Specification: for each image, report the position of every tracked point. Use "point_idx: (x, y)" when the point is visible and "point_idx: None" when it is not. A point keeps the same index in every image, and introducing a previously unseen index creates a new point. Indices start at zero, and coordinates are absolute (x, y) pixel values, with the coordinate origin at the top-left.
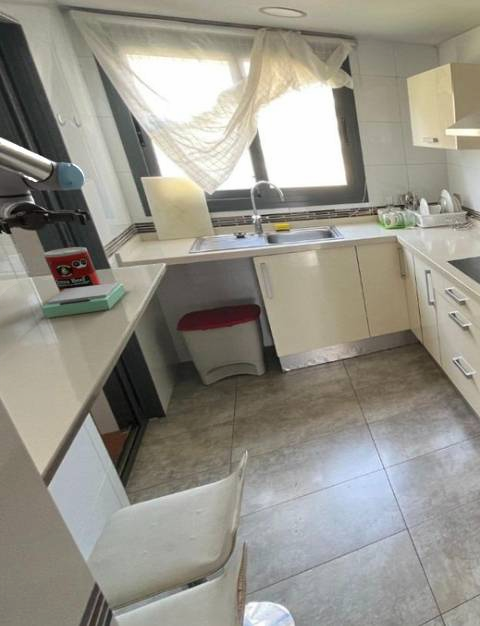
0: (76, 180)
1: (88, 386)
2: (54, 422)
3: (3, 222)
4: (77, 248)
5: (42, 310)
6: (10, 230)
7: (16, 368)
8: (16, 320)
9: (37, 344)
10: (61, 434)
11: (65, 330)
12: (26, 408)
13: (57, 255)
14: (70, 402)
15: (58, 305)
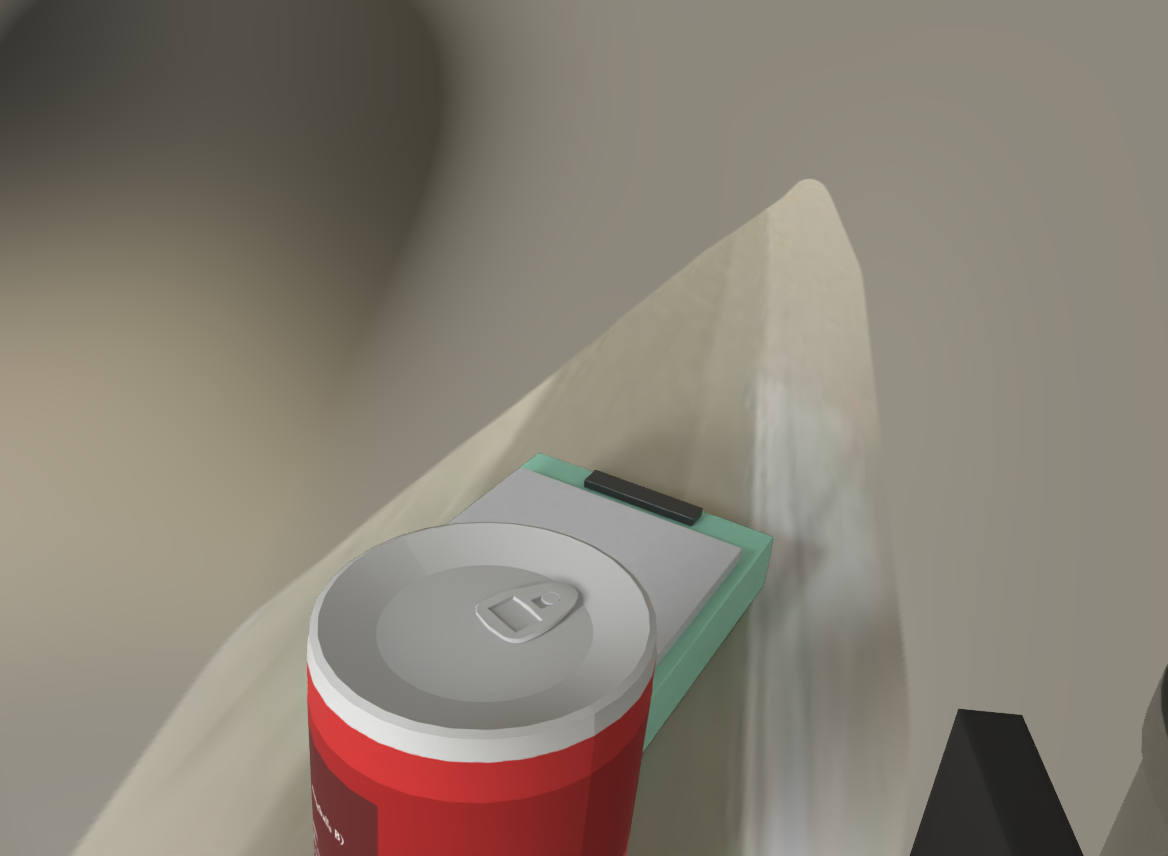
0: None
1: (746, 227)
2: (803, 199)
3: (1037, 827)
4: (356, 658)
5: (771, 547)
6: (923, 821)
7: (855, 329)
8: (877, 654)
9: (809, 399)
10: (798, 183)
11: (726, 432)
12: (835, 232)
13: (585, 551)
14: (778, 214)
15: (708, 517)
